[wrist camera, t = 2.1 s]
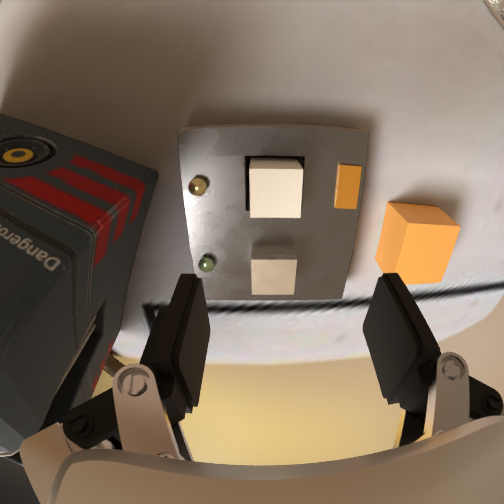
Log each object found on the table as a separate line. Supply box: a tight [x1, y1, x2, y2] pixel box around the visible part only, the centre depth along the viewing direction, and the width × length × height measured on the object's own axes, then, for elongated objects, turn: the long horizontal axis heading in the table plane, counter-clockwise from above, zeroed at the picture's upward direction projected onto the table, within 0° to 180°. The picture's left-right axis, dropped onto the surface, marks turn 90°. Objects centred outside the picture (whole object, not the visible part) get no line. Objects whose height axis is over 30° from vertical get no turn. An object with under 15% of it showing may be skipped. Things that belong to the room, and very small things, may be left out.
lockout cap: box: [375, 202, 461, 284], centre depth 26 cm, size 7×7×5 cm
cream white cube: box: [249, 158, 303, 218], centre depth 22 cm, size 4×4×4 cm
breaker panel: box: [177, 123, 369, 300], centre depth 25 cm, size 16×18×6 cm
